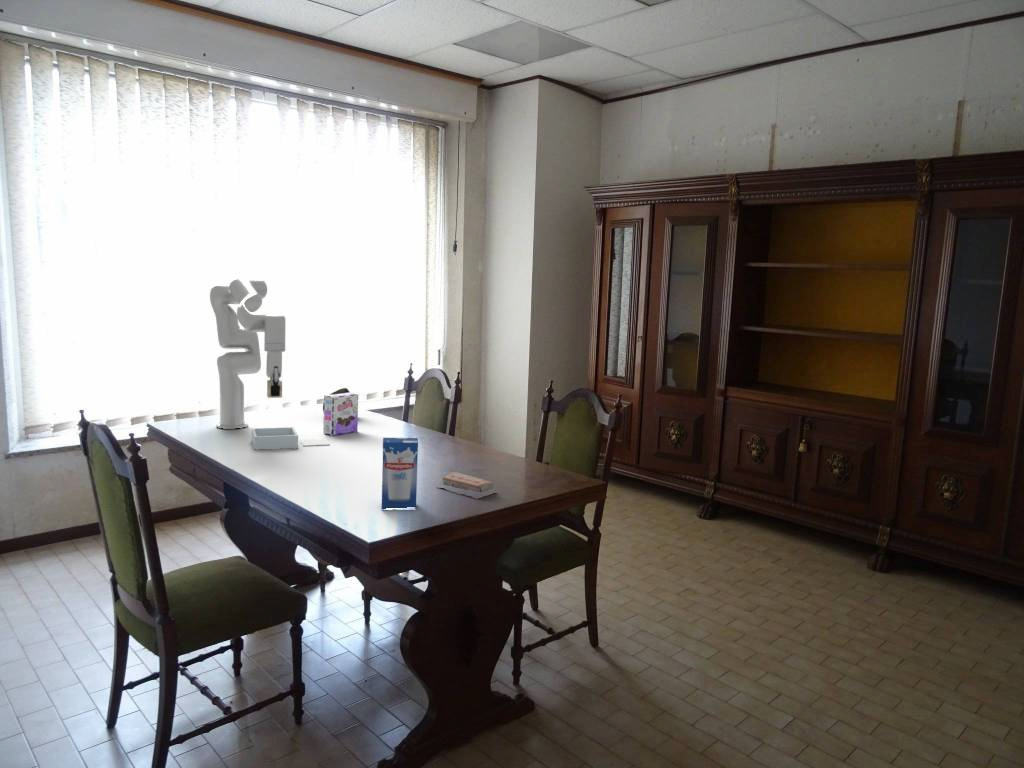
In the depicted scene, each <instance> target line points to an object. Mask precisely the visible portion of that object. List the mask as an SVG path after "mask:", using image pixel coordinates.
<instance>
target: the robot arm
mask: <svg viewBox="0 0 1024 768" xmlns="http://www.w3.org/2000/svg"><path fill="white" fill-rule="evenodd" d="M267 293H268V286H267V284H266V282H265V280H264V279H263V278H260V277H248V276H247V277H245V276H244V277H243V276H242V277H239V276H238V277H235V278H233V279H232V280H230V282H229V283H226V282H225V283H218V284H214V285H213V286H212V287H211V288H210V291H209V301H210V305H211V308H212V310H213V313H214V317H215V321H216V331H217V332H216V333H217V338H218V339H217V340H218V343H219V346H220V348H222V349H225V350H242V349H243V350H244V351H230V352H229V351H228V352H223V353H221V354H220V355H219V356H218V357H217V359H216V365H217V371H218V377H219V422H217V423H216V424H215V426H216V428H217V427H218V428H217V429H221V428H223V430H236V429H235V428H240V429H244V428H243V427H245V428H247V427H249V423H248V422H247V421H245V386H244V383H243V381H242V380H241V378H240V376H239V375H253V374H258V373H259V371H261V368H262V359H261V349H260V343H259V341H260V340H259V335H258V333H264V350H263V351H264V352H266V367H265V368H266V370H265V373H266V377H267V378H268V379H269V380H272V385H271V396H280V385H279V380H280V378H281V377H282V373H283V372H282V370H283V353H284V352H286V317H285V315H283V314H278V313H276V312H272V311H271V312H270V311H269V312H265V311H263V312H261V311H259V312H256V311H258V310H259V309H260V308H261V307H262V304H263V299H264V298H265V297H267ZM231 305H237V309H236V311H235V310H234V309H233V308H232V306H231ZM239 324H240V325H241V326H240V325H239Z"/></svg>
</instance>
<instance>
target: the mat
mask: <svg viewBox="0 0 1024 768" xmlns="http://www.w3.org/2000/svg"><path fill="white" fill-rule="evenodd" d="M299 441H301V442H300V443H301V445H302V447H317V446H316V445H325V446H330V442H329V441H328V439H327V438H310V439H299Z"/></svg>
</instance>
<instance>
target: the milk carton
mask: <svg viewBox="0 0 1024 768" xmlns="http://www.w3.org/2000/svg"><path fill="white" fill-rule="evenodd" d="M418 449H419V439H418V437H383V438H382V470H381V471H382V473H381V474H382V477H381V479H382V481H381V482H382V483H381V510H382V509H386V508H407V507H416V508H417V488H418V487H417V486H418V484H417V483H418V459H419V458H418V455H419V450H418Z"/></svg>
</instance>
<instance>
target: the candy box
mask: <svg viewBox="0 0 1024 768" xmlns="http://www.w3.org/2000/svg"><path fill="white" fill-rule="evenodd" d="M323 399H324V400H323V403H324V412H323V434H324V435H327V436H332V437H333V436H339V435H345V434H346V435H347V434H352V433H356V432H358V421H359V420H358V415H359V414H358V413H359V394H358V393H354V392H353V393H352V392H350V393H343V394H334V395H330V394H326V395H324V396H323ZM351 432H352V433H351Z"/></svg>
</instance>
